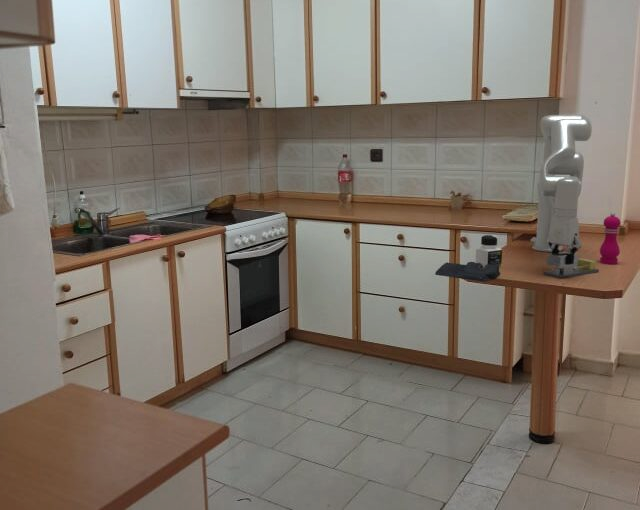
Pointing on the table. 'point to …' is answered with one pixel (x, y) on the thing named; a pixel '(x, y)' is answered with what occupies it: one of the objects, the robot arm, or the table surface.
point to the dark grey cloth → (469, 271)
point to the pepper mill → (610, 240)
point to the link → (560, 260)
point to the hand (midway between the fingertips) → (562, 262)
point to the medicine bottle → (489, 251)
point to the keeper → (574, 269)
